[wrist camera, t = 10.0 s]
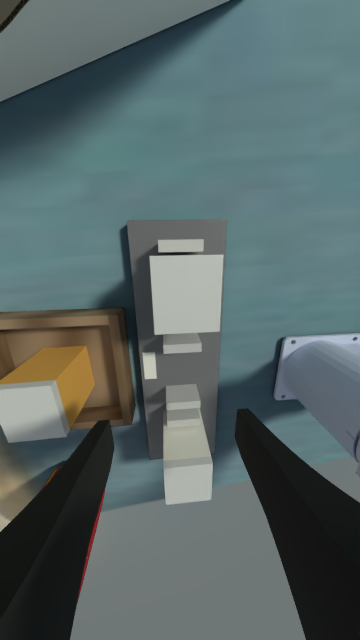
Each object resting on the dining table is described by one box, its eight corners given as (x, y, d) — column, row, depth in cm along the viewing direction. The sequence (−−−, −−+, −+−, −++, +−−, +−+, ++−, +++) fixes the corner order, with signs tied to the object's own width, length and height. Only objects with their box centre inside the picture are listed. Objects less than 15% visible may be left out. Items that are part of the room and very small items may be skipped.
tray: (123, 307, 18) (117, 315, 15) (135, 406, 21) (131, 425, 19) (-8, 312, 17) (-36, 321, 14) (27, 414, 20) (9, 435, 18)
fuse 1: (202, 256, 16) (223, 254, 10) (201, 307, 17) (219, 331, 12) (154, 257, 16) (149, 255, 10) (157, 309, 17) (154, 334, 11)
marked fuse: (86, 345, 18) (50, 385, 12) (94, 384, 19) (66, 436, 14) (42, 348, 18) (-15, 390, 12) (54, 388, 19) (8, 442, 13)
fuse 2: (199, 407, 21) (212, 463, 15) (198, 438, 22) (211, 499, 17) (163, 410, 21) (163, 468, 15) (165, 441, 22) (165, 504, 16)
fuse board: (223, 222, 16) (238, 212, 13) (212, 445, 24) (220, 475, 21) (128, 222, 15) (119, 212, 12) (150, 451, 24) (148, 483, 20)
